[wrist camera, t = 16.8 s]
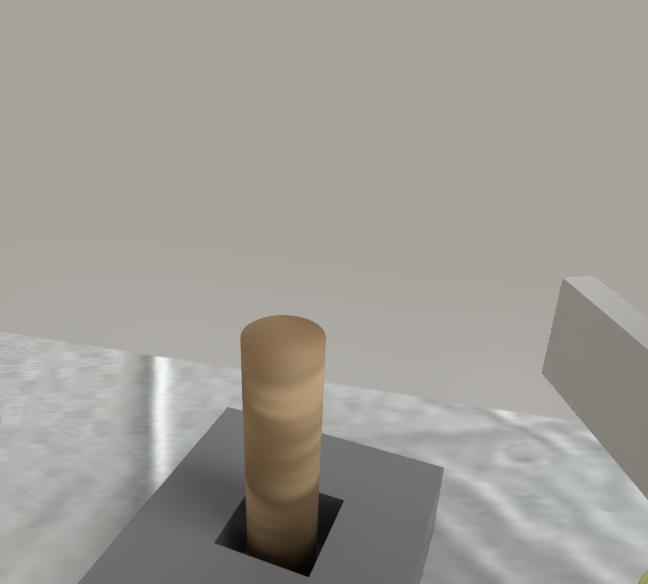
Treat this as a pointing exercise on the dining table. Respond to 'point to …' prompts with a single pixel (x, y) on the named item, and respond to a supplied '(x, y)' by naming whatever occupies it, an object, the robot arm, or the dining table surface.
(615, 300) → the robot arm
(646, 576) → the plant pot
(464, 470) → the dining table surface
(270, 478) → the oak dowel
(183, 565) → the socket block
